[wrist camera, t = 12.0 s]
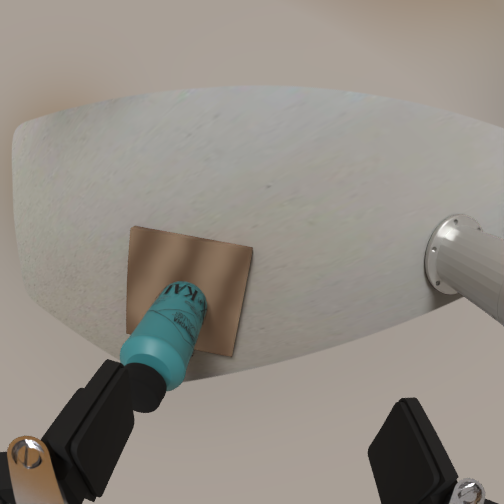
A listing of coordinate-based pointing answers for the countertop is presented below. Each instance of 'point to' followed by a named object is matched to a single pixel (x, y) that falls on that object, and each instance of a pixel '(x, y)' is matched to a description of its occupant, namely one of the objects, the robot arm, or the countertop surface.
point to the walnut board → (189, 280)
